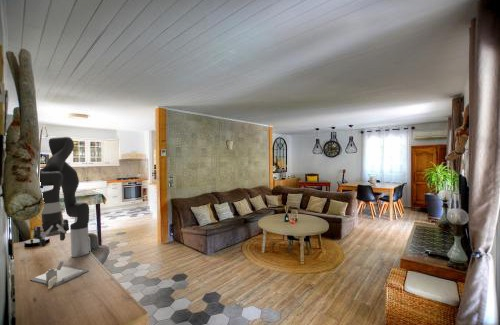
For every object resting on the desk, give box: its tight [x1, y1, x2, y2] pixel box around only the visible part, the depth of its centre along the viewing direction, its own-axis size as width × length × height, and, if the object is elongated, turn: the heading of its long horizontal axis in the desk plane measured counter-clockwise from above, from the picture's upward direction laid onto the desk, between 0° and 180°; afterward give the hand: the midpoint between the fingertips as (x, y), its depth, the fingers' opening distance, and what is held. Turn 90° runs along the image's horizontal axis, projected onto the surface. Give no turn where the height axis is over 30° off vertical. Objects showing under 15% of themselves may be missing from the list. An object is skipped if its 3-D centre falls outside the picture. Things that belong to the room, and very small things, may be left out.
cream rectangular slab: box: [47, 276, 57, 290], centre depth 113 cm, size 5×1×4 cm, turn 9°
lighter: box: [45, 260, 65, 281], centre depth 118 cm, size 7×2×8 cm, turn 130°
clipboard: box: [29, 265, 90, 288], centre depth 123 cm, size 16×20×2 cm
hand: (53, 243), depth 119 cm, fingers open, 8 cm apart
